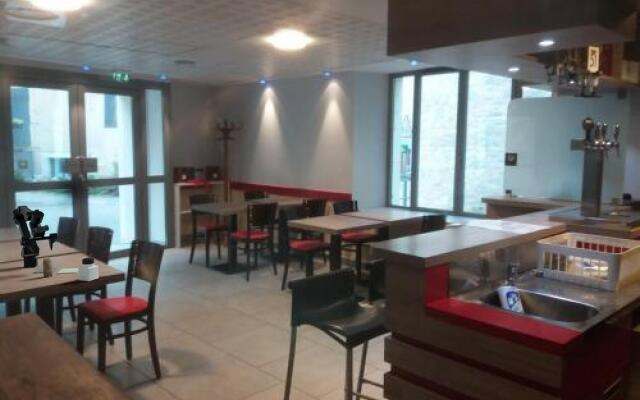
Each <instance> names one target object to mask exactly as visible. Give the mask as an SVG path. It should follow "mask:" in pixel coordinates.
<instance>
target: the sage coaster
mask: <svg viewBox="0 0 640 400" xmlns="http://www.w3.org/2000/svg"><path fill="white" fill-rule="evenodd" d="M78 268H79V267H77V268H76V267H75V268H74V267H73V268H71V267H70V268H61V269H60V270H59V271H58V272H57V274H58V275H60V274H61V275H62V274H64V275H65V274H77V273H79V270H78Z"/></svg>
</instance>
